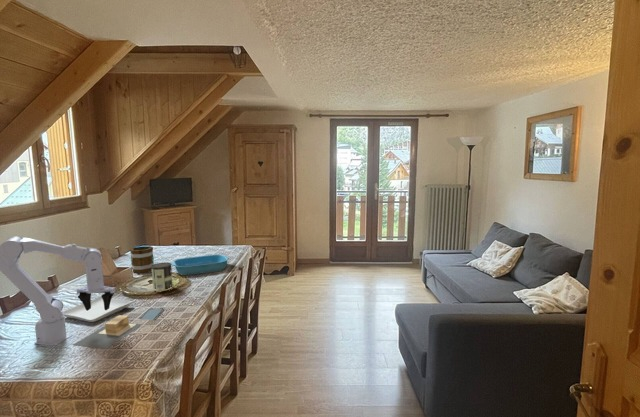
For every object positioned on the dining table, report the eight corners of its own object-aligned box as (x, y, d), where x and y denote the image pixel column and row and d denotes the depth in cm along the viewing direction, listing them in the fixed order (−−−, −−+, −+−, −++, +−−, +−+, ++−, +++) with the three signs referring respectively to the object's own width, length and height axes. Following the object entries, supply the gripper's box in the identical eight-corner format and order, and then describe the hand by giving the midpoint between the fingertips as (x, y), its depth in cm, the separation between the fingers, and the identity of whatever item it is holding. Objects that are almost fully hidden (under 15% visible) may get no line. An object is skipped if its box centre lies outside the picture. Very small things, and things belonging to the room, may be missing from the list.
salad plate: (59, 319, 154) (58, 312, 154) (103, 301, 174) (102, 295, 174) (92, 327, 147) (91, 319, 146) (134, 307, 167) (133, 301, 166)
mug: (153, 272, 220) (151, 249, 219) (129, 274, 216) (128, 251, 214) (156, 263, 239) (154, 243, 237) (134, 266, 234) (133, 244, 232)
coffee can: (170, 284, 198) (169, 261, 196) (174, 290, 189) (173, 265, 187) (151, 288, 192) (149, 264, 190) (154, 293, 184) (152, 268, 182)
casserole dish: (225, 261, 244) (224, 252, 243) (233, 270, 225) (233, 259, 224) (169, 269, 226) (169, 259, 225) (173, 279, 207) (172, 268, 206)
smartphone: (134, 323, 149) (148, 308, 164) (134, 325, 149) (149, 310, 164) (152, 322, 149) (164, 308, 164) (152, 324, 150) (164, 309, 164)
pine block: (119, 324, 148) (118, 315, 147) (128, 324, 147) (128, 315, 147) (105, 333, 140) (105, 323, 139) (115, 333, 139) (115, 324, 139)
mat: (72, 346, 131) (72, 344, 131) (112, 322, 150) (112, 321, 150) (106, 349, 128) (106, 348, 128) (142, 325, 148) (142, 324, 148)
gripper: (70, 281, 136) (73, 313, 138) (107, 281, 136) (109, 313, 138) (81, 275, 143) (84, 306, 145) (116, 275, 143) (119, 306, 145)
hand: (97, 309), depth 142 cm, fingers open, 7 cm apart
